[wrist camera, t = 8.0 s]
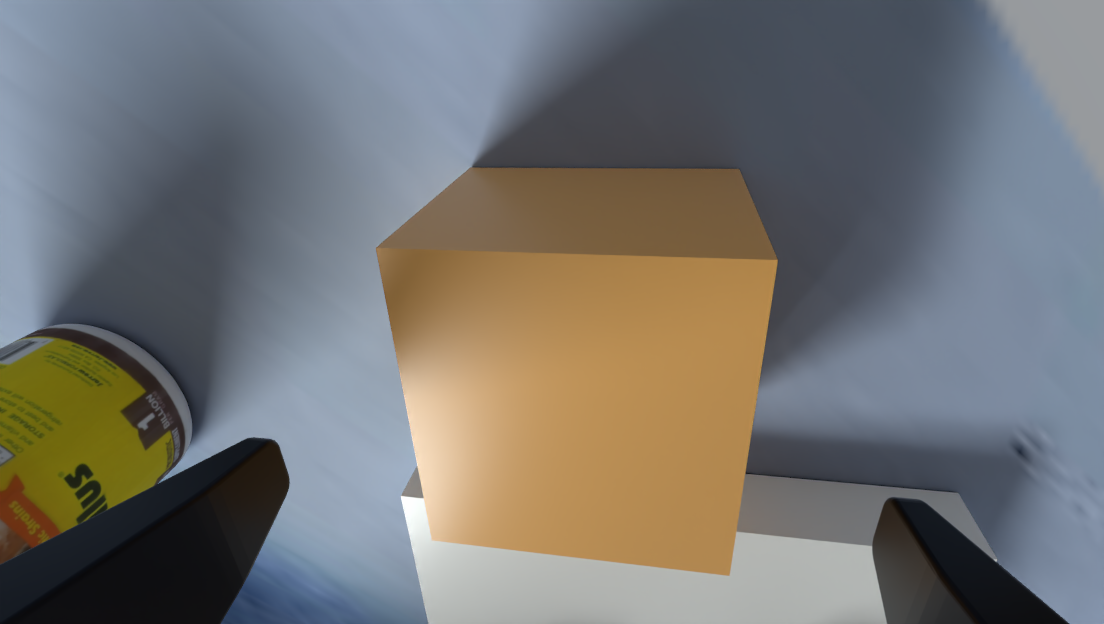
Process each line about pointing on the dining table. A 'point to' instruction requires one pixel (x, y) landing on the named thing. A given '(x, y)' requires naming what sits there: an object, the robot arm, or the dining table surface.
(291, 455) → the dining table surface
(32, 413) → the supplement bottle
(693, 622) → the board
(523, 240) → the orange block
